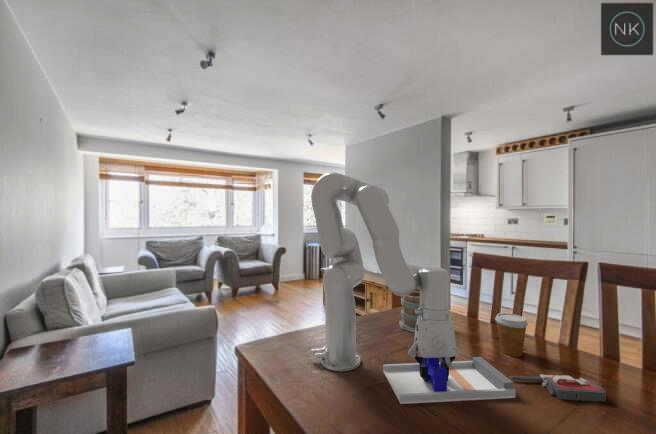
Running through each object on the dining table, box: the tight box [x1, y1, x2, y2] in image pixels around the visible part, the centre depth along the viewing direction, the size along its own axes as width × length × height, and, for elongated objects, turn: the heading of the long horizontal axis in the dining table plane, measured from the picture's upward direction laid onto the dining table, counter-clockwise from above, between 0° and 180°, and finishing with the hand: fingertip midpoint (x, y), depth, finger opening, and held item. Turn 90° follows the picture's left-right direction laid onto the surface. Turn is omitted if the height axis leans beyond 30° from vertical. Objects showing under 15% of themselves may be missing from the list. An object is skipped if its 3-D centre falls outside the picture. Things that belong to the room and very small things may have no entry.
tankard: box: [398, 290, 420, 334], centre depth 124 cm, size 20×13×15 cm, turn 88°
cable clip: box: [426, 358, 447, 392], centre depth 81 cm, size 12×4×6 cm, turn 170°
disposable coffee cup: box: [494, 312, 529, 357], centre depth 101 cm, size 10×10×12 cm
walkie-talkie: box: [510, 373, 607, 403], centre depth 78 cm, size 9×4×20 cm
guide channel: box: [382, 356, 516, 405], centre depth 81 cm, size 30×16×4 cm, turn 95°
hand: (434, 378), depth 81 cm, fingers closed on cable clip, 5 cm apart
